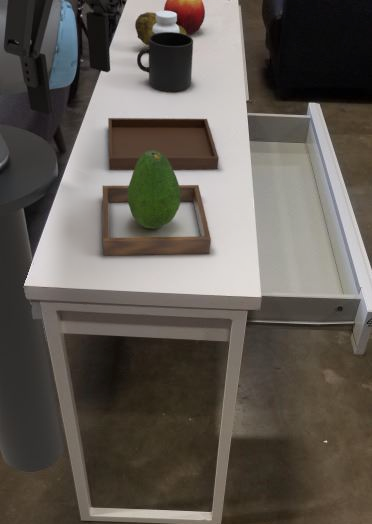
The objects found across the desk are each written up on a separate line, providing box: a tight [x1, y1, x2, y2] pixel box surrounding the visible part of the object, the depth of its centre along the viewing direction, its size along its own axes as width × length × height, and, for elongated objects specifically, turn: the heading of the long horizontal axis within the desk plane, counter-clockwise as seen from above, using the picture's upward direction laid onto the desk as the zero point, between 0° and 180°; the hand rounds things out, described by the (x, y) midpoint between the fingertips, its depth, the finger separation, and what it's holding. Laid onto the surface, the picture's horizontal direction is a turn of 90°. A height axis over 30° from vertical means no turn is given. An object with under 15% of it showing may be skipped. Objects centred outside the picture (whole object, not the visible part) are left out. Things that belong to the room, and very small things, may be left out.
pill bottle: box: [152, 10, 180, 35], centre depth 132 cm, size 6×6×11 cm
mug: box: [136, 32, 194, 93], centre depth 126 cm, size 9×12×9 cm
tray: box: [107, 117, 220, 170], centre depth 107 cm, size 19×16×2 cm
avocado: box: [127, 150, 181, 230], centre depth 86 cm, size 8×8×12 cm
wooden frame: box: [102, 184, 212, 256], centre depth 89 cm, size 16×16×2 cm
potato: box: [134, 11, 187, 46], centre depth 141 cm, size 8×13×8 cm, turn 94°
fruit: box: [163, 0, 206, 36], centre depth 150 cm, size 11×11×10 cm
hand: (72, 89), depth 74 cm, fingers open, 13 cm apart
